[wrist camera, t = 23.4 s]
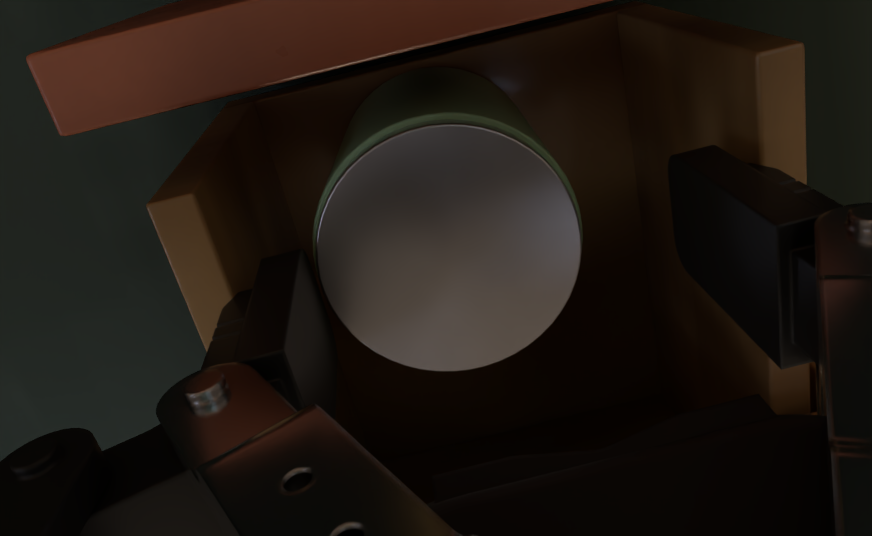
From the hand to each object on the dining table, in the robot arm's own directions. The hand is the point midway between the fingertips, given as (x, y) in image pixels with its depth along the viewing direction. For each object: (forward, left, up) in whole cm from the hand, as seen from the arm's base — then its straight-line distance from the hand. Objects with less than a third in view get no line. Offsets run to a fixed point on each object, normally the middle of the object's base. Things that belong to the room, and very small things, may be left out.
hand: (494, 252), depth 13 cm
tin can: (0, 0, -6) cm, 6 cm away
